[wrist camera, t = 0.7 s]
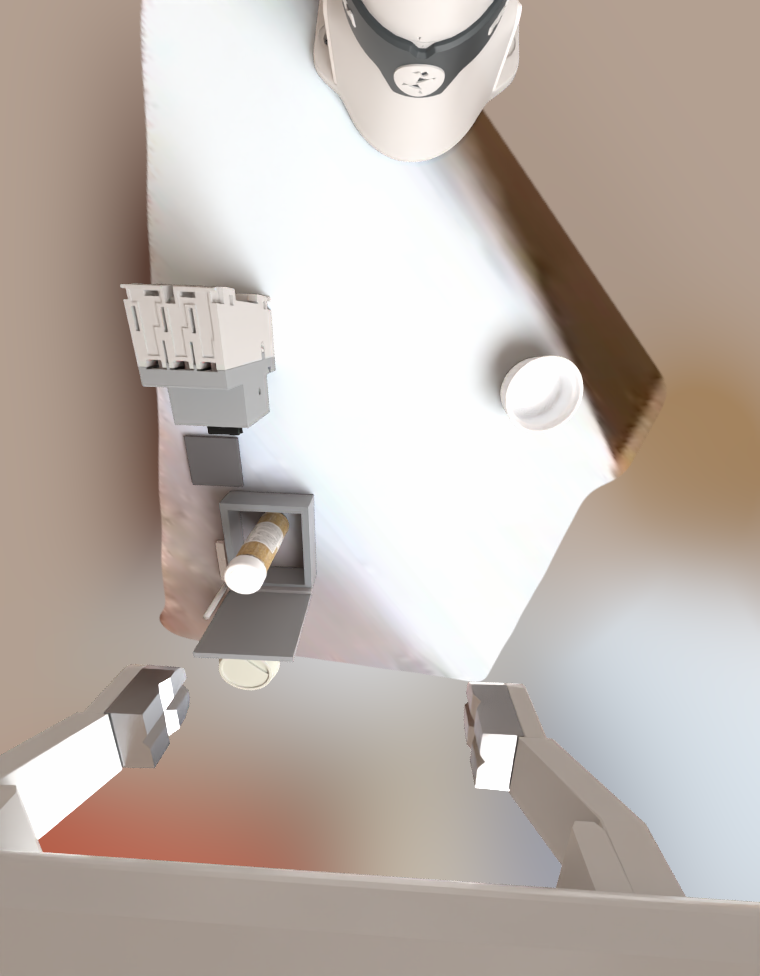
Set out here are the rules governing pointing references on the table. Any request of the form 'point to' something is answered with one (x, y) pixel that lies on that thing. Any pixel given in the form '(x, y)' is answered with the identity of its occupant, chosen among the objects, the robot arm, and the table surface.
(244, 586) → the sprinkles bottle
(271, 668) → the coffee cup
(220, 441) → the pad
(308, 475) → the table surface
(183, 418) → the circuit breaker
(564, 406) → the ramekin
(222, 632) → the case
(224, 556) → the rod
